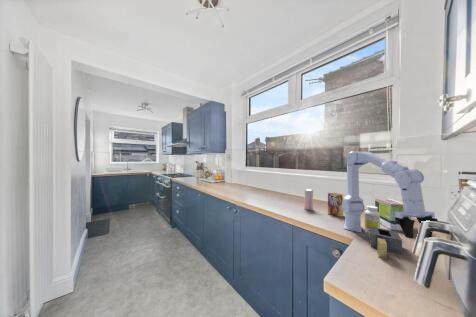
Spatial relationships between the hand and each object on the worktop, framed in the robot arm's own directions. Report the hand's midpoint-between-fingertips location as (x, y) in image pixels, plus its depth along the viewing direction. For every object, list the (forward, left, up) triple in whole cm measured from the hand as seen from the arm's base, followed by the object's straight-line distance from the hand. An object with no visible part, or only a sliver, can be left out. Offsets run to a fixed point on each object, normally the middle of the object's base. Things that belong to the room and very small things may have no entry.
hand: (418, 237), depth 62 cm
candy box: (-44, -30, -11) cm, 55 cm away
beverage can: (-46, -48, -11) cm, 68 cm away
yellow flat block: (0, -10, -11) cm, 15 cm away
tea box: (-43, -1, -11) cm, 45 cm away
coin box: (-11, -8, -11) cm, 17 cm away
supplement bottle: (-29, -11, -11) cm, 33 cm away
